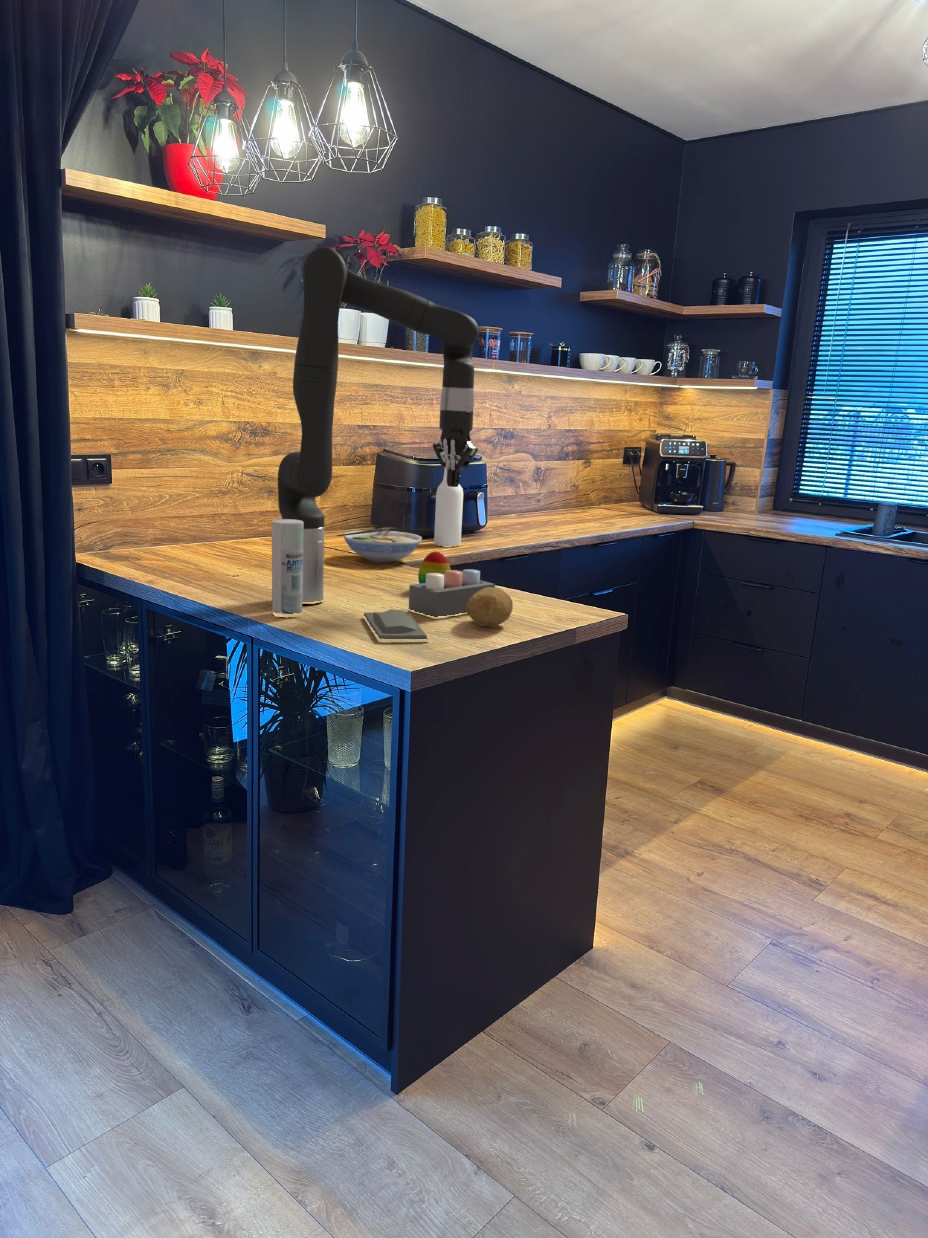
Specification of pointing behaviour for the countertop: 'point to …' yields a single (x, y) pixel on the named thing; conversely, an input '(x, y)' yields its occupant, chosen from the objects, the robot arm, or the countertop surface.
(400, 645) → the countertop surface
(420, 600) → the grey rectangular block
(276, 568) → the spray can
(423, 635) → the soap mold
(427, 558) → the decorative egg
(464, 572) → the blue grey egg
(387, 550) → the ramen bowl
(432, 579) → the white egg
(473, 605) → the potato
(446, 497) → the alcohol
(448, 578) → the brown egg
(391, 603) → the countertop surface
